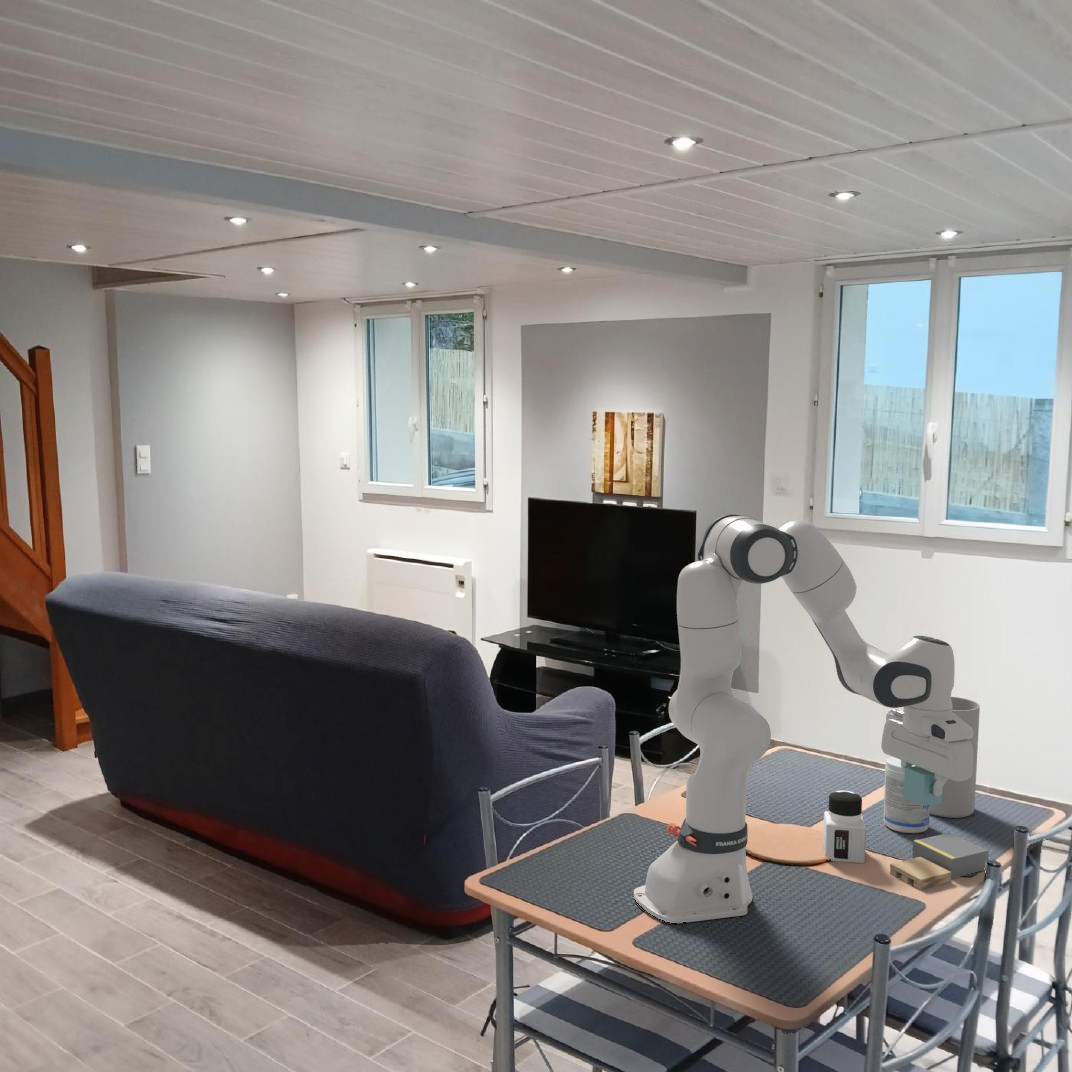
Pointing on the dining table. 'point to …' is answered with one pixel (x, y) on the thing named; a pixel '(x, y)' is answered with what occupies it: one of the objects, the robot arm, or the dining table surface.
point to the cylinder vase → (962, 794)
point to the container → (844, 828)
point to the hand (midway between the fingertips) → (922, 789)
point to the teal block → (920, 786)
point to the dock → (951, 854)
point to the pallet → (920, 872)
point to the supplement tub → (901, 802)
